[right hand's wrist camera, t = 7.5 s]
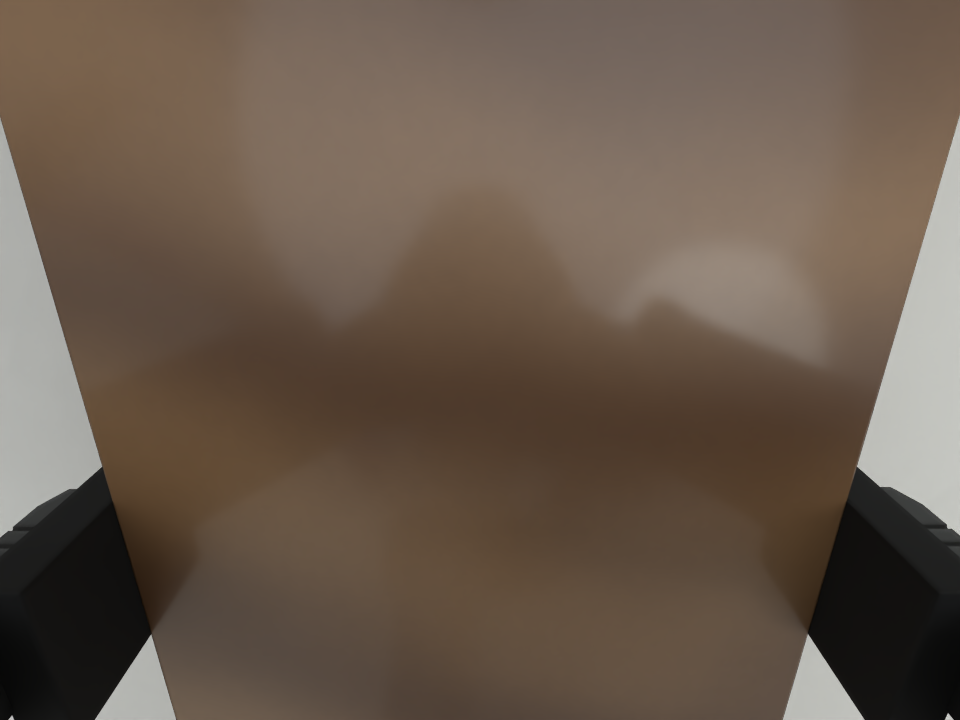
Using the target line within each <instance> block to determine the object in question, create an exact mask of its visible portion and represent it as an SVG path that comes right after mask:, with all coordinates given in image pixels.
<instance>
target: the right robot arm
mask: <svg viewBox="0 0 960 720" xmlns="http://www.w3.org/2000/svg"><path fill="white" fill-rule="evenodd" d="M808 634H809V636H810V637H811V639H812V640H813V642H814V643H815V645H816V647H817V648H818V650H819V651H820V653H821V654H822V656H823V657H824V659H825V660H826V662H827V663H828V665H829V666H830V668H831V669H832V671H833V672H834V674H835V675H836V677H837V678H838V680H839V681H840V683H841V684H842V686H843V688H844V689H845V691H846V692H847V694H848V695H849V697H850V698H851V700H852V701H853V703H854V704H855V706H856V707H857V709H858V710H859V712H860V713H861V715H862V716H863V718H864V719H865V720H945V718H946V716H947V714H948V713H949V714H950V716H951V717H952V718H953V719H954V720H960V535H958V534H957V533H956V532H955V531H954V530H952V529H948V528H947V524H945V523H944V522H943V521H942V520H941V519H939V518H938V517H937V516H936V515H935V514H933V513H932V512H931V511H930V510H929V509H927V508H926V507H925V506H924V505H923V504H921V503H919V502H917V501H915V500H913V499H911V498H910V497H908V496H906V495H904V494H902V493H900V492H898V491H897V490H895V489H893V488H891V487H879V486H878V485H877V484H876V483H875V482H874V481H873V480H871V479H870V478H869V477H868V476H867V475H866V474H865V473H863V472H862V471H861V470H860V469H859V468H858V467H857V468H856V471H855V474H854V478H853V481H852V485H851V488H850V492H849V495H848V498H847V502H846V505H845V509H844V512H843V515H842V519H841V522H840V526H839V529H838V533H837V536H836V539H835V543H834V546H833V550H832V553H831V556H830V560H829V563H828V567H827V570H826V574H825V577H824V580H823V584H822V587H821V591H820V594H819V597H818V601H817V604H816V608H815V611H814V615H813V618H812V621H811V625H810V628H809V632H808ZM150 635H151V631H150V628H149V624H148V621H147V617H146V614H145V611H144V607H143V604H142V600H141V597H140V593H139V590H138V587H137V583H136V580H135V576H134V573H133V569H132V566H131V563H130V559H129V556H128V552H127V549H126V546H125V542H124V539H123V535H122V532H121V528H120V525H119V522H118V518H117V515H116V511H115V508H114V504H113V501H112V498H111V494H110V491H109V487H108V484H107V481H106V477H105V474H104V470H103V467H102V468H100V469H99V470H98V471H97V472H96V473H95V474H94V475H93V476H91V477H90V478H89V479H88V480H87V481H86V482H85V483H83V484H82V485H81V486H80V487H79V488H78V489H69V490H67V491H65V492H63V493H61V494H60V495H58V496H56V497H54V498H52V499H50V500H49V501H47V502H45V503H43V504H41V505H39V506H38V507H36V508H35V509H34V510H33V511H32V512H30V513H29V514H28V515H27V516H26V517H24V518H23V519H22V520H21V521H20V522H18V523H17V524H16V525H15V526H14V527H13V530H12V531H8V532H7V533H5V534H4V535H3V536H2V537H1V538H0V720H8V719H9V718H10V717H11V716H13V718H14V720H95V719H96V717H97V715H98V714H99V712H100V711H101V709H102V708H103V706H104V705H105V703H106V702H107V700H108V699H109V697H110V696H111V694H112V693H113V691H114V690H115V688H116V687H117V685H118V684H119V682H120V681H121V679H122V677H123V676H124V674H125V673H126V671H127V670H128V668H129V667H130V665H131V664H132V662H133V661H134V659H135V658H136V656H137V655H138V653H139V652H140V650H141V649H142V647H143V646H144V644H145V643H146V641H147V640H148V638H149V636H150Z"/></svg>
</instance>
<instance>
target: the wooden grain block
mask: <svg viewBox="0 0 960 720" xmlns="http://www.w3.org/2000/svg"><path fill="white" fill-rule="evenodd" d="M959 116H960V0H0V118H1V121H2V125H3V128H4V132H5V135H6V138H7V142H8V145H9V149H10V152H11V156H12V159H13V162H14V166H15V169H16V173H17V176H18V179H19V183H20V186H21V190H22V193H23V197H24V200H25V203H26V207H27V210H28V214H29V217H30V221H31V224H32V227H33V231H34V234H35V238H36V241H37V244H38V248H39V251H40V255H41V258H42V262H43V265H44V268H45V272H46V275H47V279H48V282H49V286H50V289H51V292H52V296H53V299H54V303H55V306H56V309H57V313H58V316H59V320H60V323H61V327H62V330H63V333H64V337H65V340H66V344H67V347H68V351H69V354H70V357H71V361H72V364H73V368H74V371H75V374H76V378H77V381H78V385H79V388H80V392H81V395H82V398H83V402H84V405H85V409H86V412H87V416H88V419H89V422H90V426H91V429H92V433H93V436H94V439H95V443H96V446H97V450H98V453H99V457H100V460H101V463H102V467H103V470H104V474H105V477H106V481H107V484H108V487H109V491H110V494H111V498H112V501H113V504H114V508H115V511H116V515H117V518H118V522H119V525H120V528H121V532H122V535H123V539H124V542H125V546H126V549H127V552H128V556H129V559H130V563H131V566H132V569H133V573H134V576H135V580H136V583H137V587H138V590H139V593H140V597H141V600H142V604H143V607H144V611H145V614H146V617H147V621H148V624H149V628H150V631H151V634H152V638H153V641H154V645H155V648H156V652H157V655H158V658H159V662H160V665H161V669H162V672H163V676H164V679H165V682H166V686H167V689H168V693H169V696H170V699H171V703H172V706H173V710H174V713H175V717H176V720H783V717H784V714H785V710H786V707H787V703H788V700H789V696H790V693H791V690H792V686H793V683H794V679H795V676H796V673H797V669H798V666H799V662H800V659H801V655H802V652H803V649H804V645H805V642H806V638H807V635H808V632H809V628H810V625H811V621H812V618H813V615H814V611H815V608H816V604H817V601H818V597H819V594H820V591H821V587H822V584H823V580H824V577H825V574H826V570H827V567H828V563H829V560H830V556H831V553H832V550H833V546H834V543H835V539H836V536H837V533H838V529H839V526H840V522H841V519H842V515H843V512H844V509H845V505H846V502H847V498H848V495H849V492H850V488H851V485H852V481H853V478H854V474H855V471H856V468H857V464H858V461H859V457H860V454H861V451H862V447H863V444H864V440H865V437H866V433H867V430H868V427H869V423H870V420H871V416H872V413H873V410H874V406H875V403H876V399H877V396H878V392H879V389H880V386H881V382H882V379H883V375H884V372H885V369H886V365H887V362H888V358H889V355H890V352H891V348H892V345H893V341H894V338H895V334H896V331H897V328H898V324H899V321H900V317H901V314H902V311H903V307H904V304H905V300H906V297H907V293H908V290H909V287H910V283H911V280H912V276H913V273H914V270H915V266H916V263H917V259H918V256H919V252H920V249H921V246H922V242H923V239H924V235H925V232H926V229H927V225H928V222H929V218H930V215H931V211H932V208H933V205H934V201H935V198H936V194H937V191H938V188H939V184H940V181H941V177H942V174H943V170H944V167H945V164H946V160H947V157H948V153H949V150H950V147H951V143H952V140H953V136H954V133H955V129H956V126H957V123H958V119H959Z"/></svg>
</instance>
